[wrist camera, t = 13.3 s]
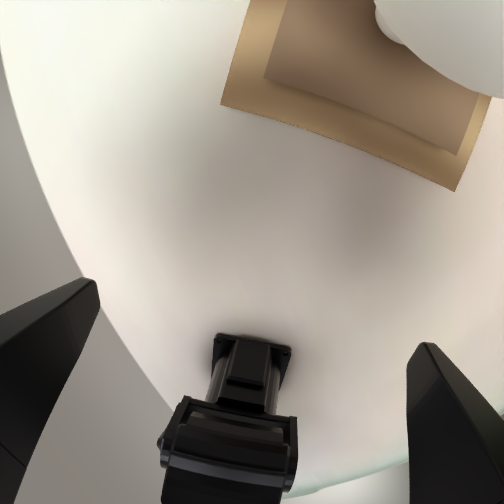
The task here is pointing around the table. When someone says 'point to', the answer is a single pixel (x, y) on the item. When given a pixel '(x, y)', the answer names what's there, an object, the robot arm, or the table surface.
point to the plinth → (330, 113)
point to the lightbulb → (451, 38)
